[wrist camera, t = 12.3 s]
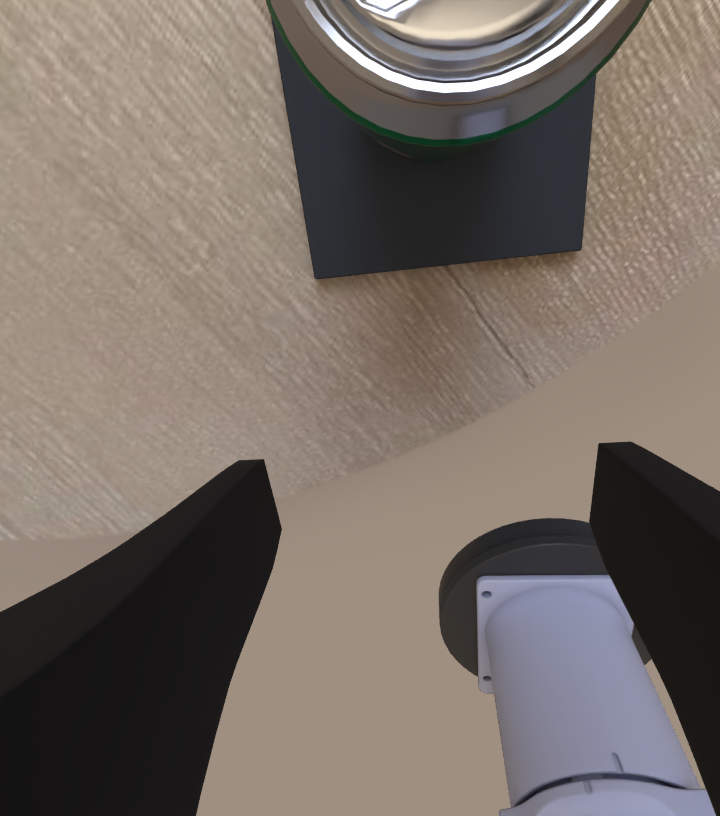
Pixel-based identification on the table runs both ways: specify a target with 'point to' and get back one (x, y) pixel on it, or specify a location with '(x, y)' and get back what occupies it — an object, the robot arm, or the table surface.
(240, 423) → the table surface
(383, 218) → the mat
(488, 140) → the soda can
